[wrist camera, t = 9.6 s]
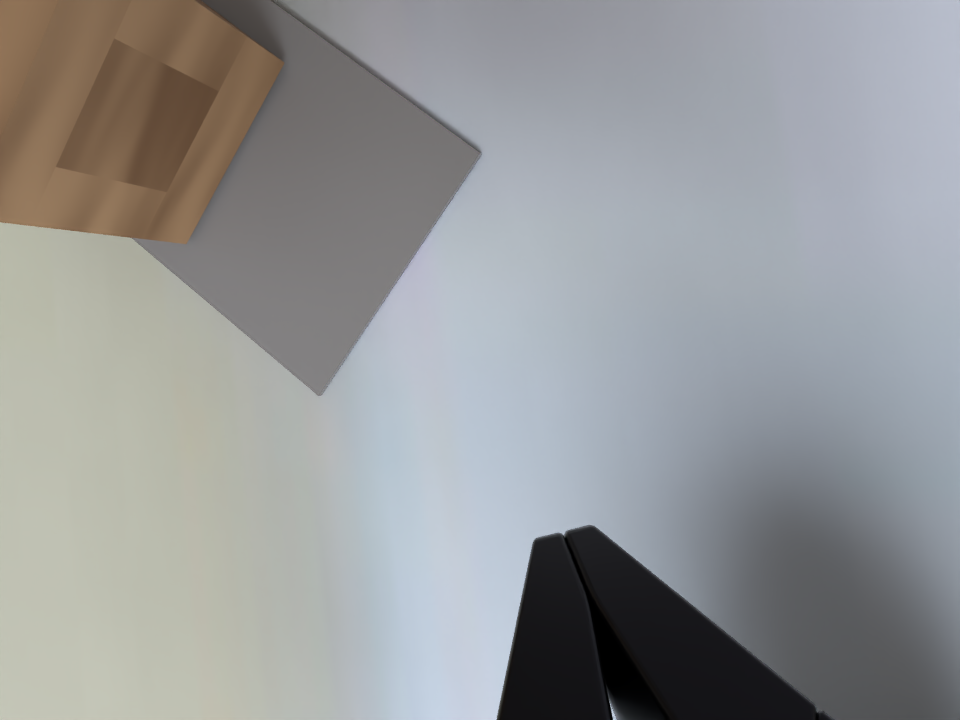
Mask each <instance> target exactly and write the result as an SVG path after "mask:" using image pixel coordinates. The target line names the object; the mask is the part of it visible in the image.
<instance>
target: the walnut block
mask: <svg viewBox="0 0 960 720" xmlns="http://www.w3.org/2000/svg"><path fill="white" fill-rule="evenodd" d="M283 65H284V62H283V61H282V60H280V59H279V58H278V57H276V56H275V55H274V54H272V53H271V52H270V51H268V50H267V49H266V48H264V47H263V46H261V45H260V44H259V43H257V42H256V41H255V40H253V39H252V38H251V37H249V36H248V35H247V34H245V33H244V32H243V31H241V30H240V29H239V28H237V27H236V26H235V25H233V24H232V23H231V22H229V21H228V20H227V19H225V18H224V17H223V16H221V15H220V14H219V13H217V12H216V11H215V10H213V9H212V8H211V7H209V6H208V5H207V4H205V3H204V2H203V1H201V0H0V222H3V223H12V224H20V225H28V226H37V227H45V228H54V229H62V230H71V231H79V232H88V233H96V234H104V235H113V236H121V237H130V238H138V239H147V240H155V241H164V242H172V243H180V244H187V242H188V240H189V238H190V237H191V235H192V233H193V231H194V229H195V227H196V226H197V224H198V222H199V220H200V218H201V216H202V214H203V213H204V211H205V209H206V207H207V205H208V203H209V202H210V200H211V198H212V196H213V194H214V192H215V190H216V189H217V187H218V185H219V183H220V181H221V179H222V178H223V176H224V174H225V172H226V170H227V168H228V166H229V165H230V163H231V161H232V159H233V157H234V155H235V154H236V152H237V150H238V148H239V146H240V144H241V142H242V141H243V139H244V137H245V135H246V133H247V131H248V130H249V128H250V126H251V124H252V122H253V120H254V118H255V117H256V115H257V113H258V111H259V109H260V107H261V106H262V104H263V102H264V100H265V98H266V96H267V94H268V93H269V91H270V89H271V87H272V85H273V83H274V82H275V80H276V78H277V76H278V74H279V72H280V70H281V69H282V67H283Z"/></svg>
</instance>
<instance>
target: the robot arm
mask: <svg viewBox="0 0 960 720" xmlns="http://www.w3.org/2000/svg"><path fill="white" fill-rule="evenodd" d="M609 701H610V702H609ZM610 704H611V706H612V709H613V711H614V714H615V716H616V719H617V720H834V719H833V718H832V717H830V716H829V715H828V714H827V713H825V712H824V711H819V712H818V713H817V708H816V706H815V704H814V703H813V702H811V701H810V700H809V699H808V698H806V697H805V696H804V695H803V694H801V693H800V692H799V691H798V690H796V689H795V688H794V687H793V686H792V685H790V684H789V683H788V682H787V681H785V680H784V679H783V678H782V677H780V676H779V675H778V674H777V673H775V672H774V671H773V670H772V669H771V668H769V667H768V666H767V665H766V664H764V663H763V662H762V661H761V660H759V659H758V658H757V657H756V656H754V655H753V654H752V653H751V652H750V651H748V650H747V649H746V648H745V647H743V646H742V645H741V644H740V643H738V642H737V641H736V640H735V639H733V638H732V637H731V636H730V635H728V634H727V633H726V632H725V631H724V630H722V629H721V628H720V627H719V626H717V625H716V624H715V623H714V622H712V621H711V620H710V619H709V618H707V617H706V616H705V615H704V614H703V613H701V612H700V611H699V610H698V609H696V608H695V607H694V606H693V605H691V604H690V603H689V602H688V601H686V600H685V599H684V598H683V597H681V596H680V595H679V594H678V593H677V592H675V591H674V590H673V589H672V588H670V587H669V586H668V585H667V584H665V583H664V582H663V581H662V580H660V579H659V578H658V577H657V576H656V575H654V574H653V573H652V572H651V571H649V570H648V569H647V568H646V567H644V566H643V565H642V564H641V563H639V562H638V561H637V560H636V559H635V558H633V557H632V556H631V555H630V554H628V553H627V552H626V551H625V550H623V549H622V548H621V547H620V546H618V545H617V544H616V543H615V542H613V541H612V540H611V539H610V538H609V537H607V536H606V535H605V534H604V533H602V532H601V531H600V530H599V529H597V528H596V527H595V526H592V525H587V526H583V527H579V528H575V529H571V530H568V531H566V532H565V535H564V536H563V535H562V534H561V533H555V534H551V535H547V536H543V537H539V538H536V539H535V540H534V542H533V544H532V549H531V554H530V558H529V563H528V568H527V573H526V578H525V583H524V588H523V593H522V598H521V603H520V607H519V612H518V617H517V622H516V627H515V632H514V637H513V642H512V647H511V651H510V656H509V661H508V666H507V671H506V676H505V681H504V686H503V691H502V695H501V700H500V705H499V710H498V715H497V720H613V718H612V713H611V707H610Z"/></svg>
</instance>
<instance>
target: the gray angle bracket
mask: <svg viewBox="0 0 960 720" xmlns="http://www.w3.org/2000/svg"><path fill="white" fill-rule="evenodd" d="M201 1H203V2H204V3H205V4H207V5H208V6H209V7H211V8H212V9H213V10H215V11H216V12H217V13H219V14H220V15H221V16H223V17H224V18H225V19H227V20H228V21H229V22H231V23H232V24H233V25H235V26H236V27H237V28H239V29H240V30H241V31H243V32H244V33H245V34H247V35H248V36H249V37H251V38H252V39H253V40H255V41H256V42H257V43H259V44H260V45H261V46H263V47H264V48H266V49H267V50H268V51H270V52H271V53H272V54H274V55H275V56H276V57H278V58H279V59H280V60H282V61H283V62H284V65H283V67H282V69H281V70H280V72H279V74H278V76H277V78H276V80H275V82H274V83H273V85H272V87H271V89H270V91H269V93H268V94H267V96H266V98H265V100H264V102H263V104H262V106H261V107H260V109H259V111H258V113H257V115H256V117H255V118H254V120H253V122H252V124H251V126H250V128H249V130H248V131H247V133H246V135H245V137H244V139H243V141H242V142H241V144H240V146H239V148H238V150H237V152H236V154H235V155H234V157H233V159H232V161H231V163H230V165H229V166H228V168H227V170H226V172H225V174H224V176H223V178H222V179H221V181H220V183H219V185H218V187H217V189H216V190H215V192H214V194H213V196H212V198H211V200H210V202H209V203H208V205H207V207H206V209H205V211H204V213H203V214H202V216H201V218H200V220H199V222H198V224H197V226H196V227H195V229H194V231H193V233H192V235H191V237H190V238H189V240H188V242H187V244H180V243H172V242H164V241H155V240H147V239H138V238H132V239H133V240H135V241H136V242H137V243H138V244H139V245H141V246H142V247H143V248H144V249H145V250H146V251H148V252H149V253H150V254H151V255H152V256H154V257H155V258H156V259H157V260H158V261H160V262H161V263H162V264H163V265H164V266H165V267H167V268H168V269H169V270H170V271H171V272H173V273H174V274H175V275H176V276H177V277H178V278H180V279H181V280H182V281H183V282H184V283H186V284H187V285H188V286H189V287H190V288H191V289H193V290H194V291H195V292H196V293H197V294H199V295H200V296H201V297H202V298H203V299H205V300H206V301H207V302H208V303H209V304H210V305H212V306H213V307H214V308H215V309H216V310H218V311H219V312H220V313H221V314H222V315H223V316H225V317H226V318H227V319H228V320H229V321H231V322H232V323H233V324H234V325H235V326H236V327H238V328H239V329H240V330H241V331H242V332H244V333H245V334H246V335H247V336H248V337H250V338H251V339H252V340H253V341H254V342H255V343H257V344H258V345H259V346H260V347H261V348H263V349H264V350H265V351H266V352H267V353H268V354H270V355H271V356H272V357H273V358H274V359H276V360H277V361H278V362H279V363H280V364H281V365H283V366H284V367H285V368H286V369H287V370H289V371H290V372H291V373H292V374H293V375H295V376H296V377H297V378H298V379H299V380H300V381H302V382H303V383H304V384H305V385H306V386H308V387H309V388H310V389H311V390H312V391H313V392H315V393H316V394H317V395H318V396H320V395H322V394H323V392H324V391H325V389H326V388H327V386H328V385H329V383H330V382H331V380H332V379H333V377H334V376H335V374H336V373H337V371H338V370H339V368H340V367H341V365H342V364H343V362H344V361H345V359H346V358H347V356H348V355H349V353H350V351H351V350H352V348H353V347H354V345H355V344H356V342H357V341H358V339H359V338H360V336H361V335H362V333H363V332H364V330H365V329H366V327H367V326H368V324H369V323H370V321H371V320H372V318H373V317H374V315H375V314H376V312H377V311H378V309H379V308H380V306H381V305H382V303H383V302H384V300H385V299H386V297H387V296H388V294H389V293H390V291H391V290H392V288H393V287H394V285H395V284H396V282H397V281H398V279H399V278H400V276H401V275H402V273H403V272H404V270H405V269H406V267H407V266H408V264H409V263H410V261H411V260H412V258H413V257H414V255H415V254H416V252H417V251H418V249H419V248H420V246H421V245H422V243H423V242H424V240H425V239H426V237H427V236H428V234H429V233H430V231H431V230H432V228H433V227H434V225H435V224H436V222H437V221H438V219H439V218H440V216H441V215H442V213H443V212H444V210H445V209H446V207H447V206H448V204H449V203H450V201H451V200H452V198H453V197H454V195H455V194H456V192H457V191H458V189H459V188H460V186H461V185H462V183H463V182H464V180H465V179H466V177H467V176H468V174H469V173H470V171H471V170H472V168H473V167H474V165H475V164H476V162H477V161H478V159H479V158H480V156H481V155H482V154H481V153H479V152H478V151H477V150H475V149H474V148H473V147H471V146H470V145H468V144H467V143H466V142H464V141H463V140H462V139H460V138H459V137H458V136H456V135H455V134H453V133H452V132H451V131H449V130H448V129H447V128H445V127H444V126H442V125H441V124H440V123H438V122H437V121H436V120H434V119H433V118H431V117H430V116H429V115H427V114H426V113H425V112H423V111H422V110H421V109H419V108H418V107H416V106H415V105H414V104H412V103H411V102H410V101H408V100H407V99H405V98H404V97H403V96H401V95H400V94H399V93H397V92H396V91H394V90H393V89H392V88H390V87H389V86H388V85H386V84H385V83H383V82H382V81H381V80H379V79H378V78H377V77H375V76H374V75H373V74H371V73H370V72H368V71H367V70H366V69H364V68H363V67H362V66H360V65H359V64H357V63H356V62H355V61H353V60H352V59H351V58H349V57H348V56H346V55H345V54H344V53H342V52H341V51H340V50H338V49H337V48H335V47H334V46H333V45H331V44H330V43H329V42H327V41H326V40H325V39H323V38H322V37H320V36H319V35H318V34H316V33H315V32H314V31H312V30H311V29H309V28H308V27H307V26H305V25H304V24H303V23H301V22H300V21H298V20H297V19H296V18H294V17H293V16H292V15H290V14H289V13H287V12H286V11H285V10H283V9H282V8H281V7H279V6H278V5H277V4H275V3H274V2H272V1H271V0H201Z"/></svg>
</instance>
